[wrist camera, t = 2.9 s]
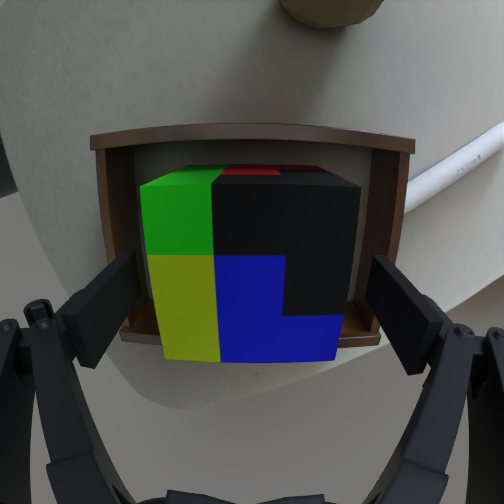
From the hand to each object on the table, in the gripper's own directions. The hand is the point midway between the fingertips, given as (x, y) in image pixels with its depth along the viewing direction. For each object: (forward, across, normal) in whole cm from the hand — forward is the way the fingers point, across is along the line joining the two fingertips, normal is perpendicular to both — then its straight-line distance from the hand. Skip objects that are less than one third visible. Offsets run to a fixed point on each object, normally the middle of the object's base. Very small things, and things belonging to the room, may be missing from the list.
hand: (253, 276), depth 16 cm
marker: (+9, +19, +8) cm, 22 cm away
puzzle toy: (+9, 0, 0) cm, 9 cm away
